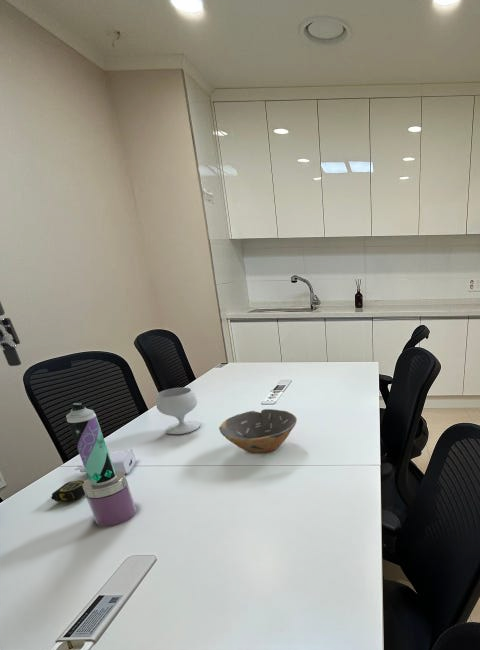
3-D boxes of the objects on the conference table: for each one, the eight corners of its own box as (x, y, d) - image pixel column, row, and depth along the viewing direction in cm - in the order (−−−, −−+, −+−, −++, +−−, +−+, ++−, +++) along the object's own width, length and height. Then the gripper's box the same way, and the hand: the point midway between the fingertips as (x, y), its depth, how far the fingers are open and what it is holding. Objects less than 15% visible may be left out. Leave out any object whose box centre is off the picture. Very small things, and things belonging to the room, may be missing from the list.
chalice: (189, 437, 143) (180, 398, 137) (155, 435, 145) (144, 397, 139) (209, 422, 156) (201, 386, 150) (178, 421, 158) (169, 386, 152)
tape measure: (72, 490, 111) (67, 479, 110) (95, 490, 111) (91, 479, 109) (53, 504, 105) (48, 492, 103) (78, 504, 105) (73, 492, 103)
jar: (90, 529, 95) (76, 494, 90) (103, 508, 102) (91, 475, 98) (130, 522, 97) (118, 488, 92) (140, 502, 105) (130, 470, 100)
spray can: (88, 480, 95) (59, 403, 87) (113, 472, 99) (88, 397, 90) (93, 488, 92) (63, 409, 83) (119, 479, 95) (93, 403, 87)
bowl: (238, 474, 117) (233, 445, 113) (215, 446, 135) (209, 420, 131) (312, 451, 130) (310, 423, 126) (282, 428, 148) (279, 403, 144)
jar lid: (79, 500, 91) (75, 492, 90) (93, 482, 99) (90, 473, 98) (120, 494, 93) (117, 486, 92) (131, 476, 101) (128, 468, 100)
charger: (84, 467, 124) (136, 461, 127) (72, 482, 115) (127, 475, 119) (79, 454, 122) (132, 448, 125) (66, 468, 113) (122, 461, 117)
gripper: (-27, 291, 85) (3, 364, 92) (-77, 296, 72) (-37, 380, 79) (13, 290, 87) (40, 361, 93) (-29, 294, 74) (6, 376, 81)
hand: (4, 370), depth 86 cm, fingers open, 8 cm apart
